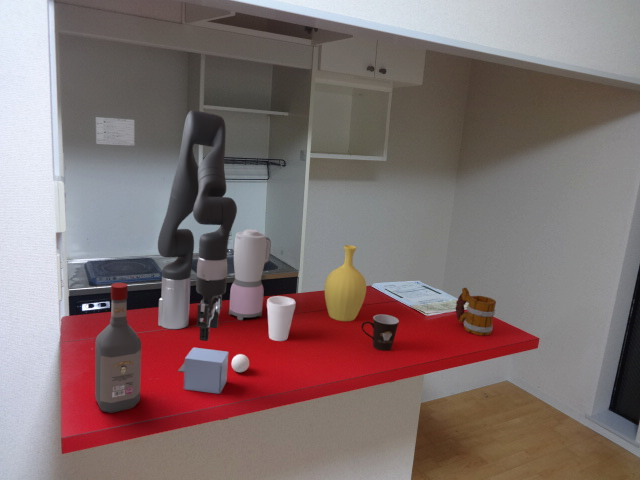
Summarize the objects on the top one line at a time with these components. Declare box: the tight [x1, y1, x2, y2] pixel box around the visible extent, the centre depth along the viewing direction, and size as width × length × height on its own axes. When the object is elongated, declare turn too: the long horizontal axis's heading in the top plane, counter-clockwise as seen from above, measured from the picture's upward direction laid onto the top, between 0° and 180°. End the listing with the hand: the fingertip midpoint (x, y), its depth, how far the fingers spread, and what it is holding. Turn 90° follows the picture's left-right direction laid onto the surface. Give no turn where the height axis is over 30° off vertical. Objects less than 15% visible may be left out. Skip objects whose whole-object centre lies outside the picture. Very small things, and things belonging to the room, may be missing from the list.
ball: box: [231, 353, 250, 373], centre depth 143 cm, size 5×5×5 cm
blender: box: [228, 228, 272, 321], centre depth 184 cm, size 16×12×32 cm
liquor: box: [94, 282, 142, 414], centre depth 119 cm, size 9×9×30 cm
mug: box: [455, 287, 497, 336], centre depth 194 cm, size 11×16×15 cm, turn 41°
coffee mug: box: [361, 314, 400, 352], centre depth 170 cm, size 12×9×10 cm
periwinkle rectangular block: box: [183, 347, 229, 395], centre depth 133 cm, size 10×7×9 cm
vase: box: [324, 244, 367, 322], centre depth 192 cm, size 16×16×28 cm
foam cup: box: [266, 295, 296, 342], centre depth 168 cm, size 10×9×13 cm
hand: (208, 333), depth 131 cm, fingers open, 8 cm apart
